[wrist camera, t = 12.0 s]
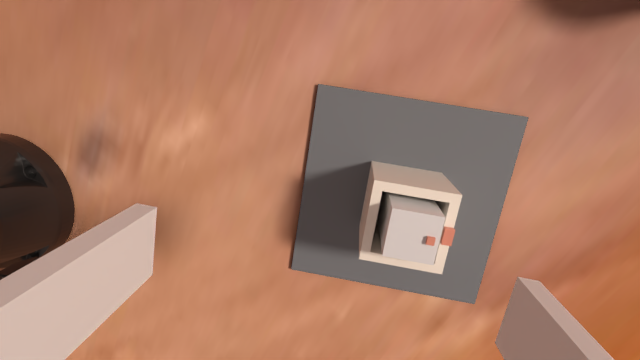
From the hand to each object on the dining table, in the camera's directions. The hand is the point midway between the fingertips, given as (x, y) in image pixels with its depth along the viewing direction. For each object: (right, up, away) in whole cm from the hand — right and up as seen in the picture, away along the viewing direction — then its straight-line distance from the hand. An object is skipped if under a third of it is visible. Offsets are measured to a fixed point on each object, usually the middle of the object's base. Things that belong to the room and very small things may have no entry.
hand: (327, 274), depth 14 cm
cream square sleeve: (+8, +1, +25) cm, 26 cm away
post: (+8, +1, +26) cm, 27 cm away
